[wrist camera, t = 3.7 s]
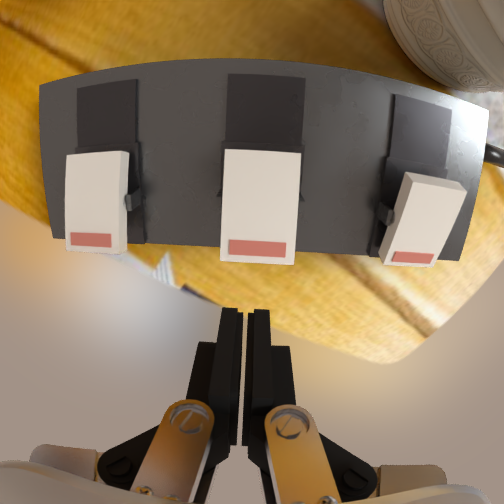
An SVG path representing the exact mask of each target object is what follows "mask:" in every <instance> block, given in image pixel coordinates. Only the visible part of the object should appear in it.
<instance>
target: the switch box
mask: <svg viewBox="0 0 504 504" xmlns="http://www.w3.org/2000/svg"><path fill="white" fill-rule="evenodd" d="M488 116H489V111H488V110H486V109H484V108H481V107H479V106H477V105H474V104H472V103H469V102H466V101H464V100H461V99H458V98H456V97H453V96H450V95H447V94H444V93H441V92H438V91H435V90H432V89H429V88H426V87H422V86H419V85H415V84H412V83H408V82H404V81H401V80H397V79H393V78H389V77H385V76H380V75H376V74H371V73H366V72H361V71H356V70H351V69H345V68H339V67H333V66H326V65H319V64H311V63H302V62H292V61H280V60H264V59H230V58H224V59H189V60H174V61H162V62H152V63H144V64H136V65H129V66H122V67H116V68H110V69H104V70H99V71H94V72H89V73H85V74H80V75H76V76H71V77H67V78H63V79H60V80H56V81H52V82H49V83H45V84H42V85H40V86H39V124H40V145H41V158H42V169H43V178H44V186H45V194H46V201H47V207H48V213H49V219H50V224H51V230H52V234H53V238H58V239H66V238H65V177H66V159H67V155H73V154H84V153H95V152H108V151H124V152H128V153H129V166H128V187H127V195H126V201H127V243H131V244H145V243H154V244H173V245H191V246H210V247H220V245H221V219H222V197H223V177H224V159H225V149H237V150H259V151H276V152H289V153H301V166H300V184H299V201H298V216H297V230H296V244H295V251H300V252H317V253H335V254H352V255H368V256H369V257H380V256H379V253H378V252H379V249H380V247H381V244H382V241H383V238H384V236H385V233H386V230H387V227H388V226H390V224H391V219H392V214H393V210H394V206H395V203H396V200H397V197H398V194H399V191H400V188H401V184H402V181H403V178H404V174H405V172H410V173H416V174H421V175H427V176H432V177H437V178H442V179H447V180H451V181H456V182H459V184H460V185H461V186H462V187H463V188H464V189H465V190H466V191H467V194H466V196H465V199H464V201H463V204H462V206H461V209H460V211H459V213H458V216H457V218H456V220H455V223H454V225H453V227H452V229H451V231H450V234H449V236H448V238H447V240H446V242H445V244H444V246H443V248H442V250H441V252H440V254H439V256H438V258H437V260H452V261H459V259H460V256H461V253H462V249H463V246H464V243H465V239H466V236H467V232H468V229H469V225H470V221H471V217H472V213H473V209H474V205H475V200H476V196H477V191H478V186H479V181H480V176H481V170H482V165H483V161H484V162H487V163H490V164H493V165H496V166H499V167H502V168H504V150H503V149H500V148H498V147H495V146H492V145H490V144H487V143H486V136H487V127H488Z"/></svg>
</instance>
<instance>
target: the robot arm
mask: <svg viewBox="0 0 504 504" xmlns="http://www.w3.org/2000/svg"><path fill="white" fill-rule="evenodd" d="M242 332H243V312H238V308H225V307H223V308H222V313H221V319H220V325H219V331H218V337H217V343H213V342H199V343H198V347H197V351H196V355H195V360H194V364H193V369H192V373H191V377H190V382H189V387H188V391H187V396H186V400H180V401H178V402H175V403H174V404H172V405H171V406H170V407H169V408H168V409H167V411H166V412H165V414H164V417H163V419H162V421H161V423H160V424H159V425H158V426H156V427H154V428H152V429H150V430H148V431H146V432H144V433H142V434H140V435H138V436H136V437H134V438H132V439H130V440H128V441H126V442H124V443H122V444H120V445H118V446H116V447H114V448H112V449H109V450H108V451H106V452H105V453H101V452H97V451H96V450H92V449H80V448H71V447H63V446H56V445H48V444H44V445H40V446H37V447H36V448H35V449H34V450H33V451H32V453H31V456H30V460H29V462H28V461H20V460H17V461H16V460H15V461H14V460H10V461H2V462H0V504H207V503H208V500H209V497H210V493H211V490H212V487H213V483H214V480H215V476H216V473H217V469H218V464H219V463H220V462H222V461H223V460H225V459H226V458H228V455H229V453H230V445H237V428H238V413H239V396H240V379H241V358H242ZM244 388H245V389H244V408H243V429H242V446H248V458H249V459H250V460H251V461H252V462H253V463H255V464H256V465H257V466H258V474H259V479H260V485H261V490H262V496H263V501H264V504H491V503H490V501H489V499H488V498H487V496H486V495H485V494H484V493H483V492H482V491H481V490H479V489H477V488H474V487H472V486H467V485H459V484H447V478H446V475H445V472H444V471H443V470H442V469H441V468H440V467H438V466H436V465H381V466H380V467H371V466H370V465H369V464H368V463H366V462H364V461H362V460H361V459H359V458H358V457H356V456H354V455H353V454H351V453H350V452H348V451H346V450H345V449H343V448H342V447H340V446H339V445H337V444H336V443H334V442H332V441H331V440H329V439H328V438H326V437H325V436H323V435H322V434H320V433H319V432H318V430H317V426H316V424H315V421H314V418H313V417H312V415H311V414H310V413H309V412H308V411H307V410H306V409H304V408H302V407H300V406H296V400H295V390H294V381H293V373H292V363H291V354H290V347H289V346H271V333H270V312H269V310H264V309H254V313H248V325H247V347H246V366H245V387H244Z"/></svg>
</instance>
